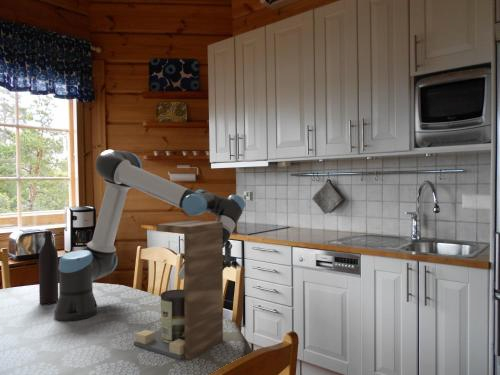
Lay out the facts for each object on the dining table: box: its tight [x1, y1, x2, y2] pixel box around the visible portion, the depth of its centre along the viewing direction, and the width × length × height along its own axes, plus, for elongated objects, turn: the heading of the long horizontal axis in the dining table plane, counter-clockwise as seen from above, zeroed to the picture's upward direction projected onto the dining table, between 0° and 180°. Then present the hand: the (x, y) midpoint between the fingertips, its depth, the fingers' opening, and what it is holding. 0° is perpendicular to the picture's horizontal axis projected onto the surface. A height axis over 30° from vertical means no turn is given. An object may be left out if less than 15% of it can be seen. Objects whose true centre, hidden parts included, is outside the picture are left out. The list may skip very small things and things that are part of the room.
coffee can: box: [160, 288, 185, 343], centre depth 126 cm, size 10×10×14 cm
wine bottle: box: [38, 230, 59, 305], centre depth 165 cm, size 7×7×30 cm
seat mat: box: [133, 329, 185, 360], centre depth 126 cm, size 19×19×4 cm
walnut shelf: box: [155, 219, 224, 360], centre depth 123 cm, size 13×16×38 cm
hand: (195, 280), depth 133 cm, fingers open, 13 cm apart
